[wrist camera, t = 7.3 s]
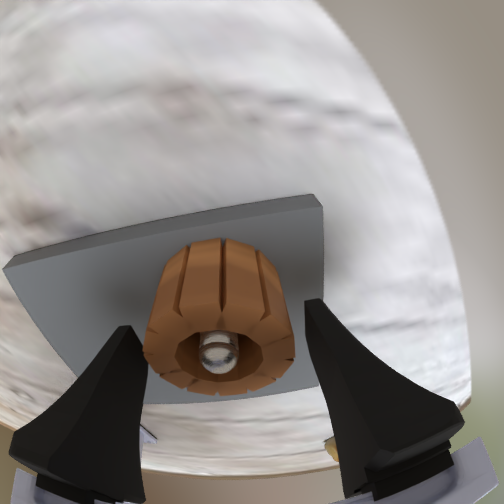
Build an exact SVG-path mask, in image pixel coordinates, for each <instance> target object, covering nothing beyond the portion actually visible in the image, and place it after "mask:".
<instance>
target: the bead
mask: <svg viewBox="0 0 504 504" xmlns="http://www.w3.org/2000/svg"><path fill="white" fill-rule="evenodd" d="M220 329H221V330H226V331H230V332H235V333H238V347H239V359H238V362H237V364H236V366H235V367H234V368H233V369H232V370H230V371H229V372H227V373H223V374H215V373H212V372H210V371H208V370H207V369H205V368H204V367H203V365H202V364H201V362H200V359H199V342H200V332H204V331H212V330H220ZM142 351H143V352H144V355H143V356H144V357H145V359H146V360H147V362H148V363H149V365H150V366H151V368H152V369H153V370H154V372H155V373H156V374H160V376H159V377H160V378H162V379H164V380H166V381H167V382H169V383H171V384H173V385H175V386H177V387H178V388H180V389H184V388H186V387H187V391H189V392H194V393H199V394H205V395H211V396H215V394H216V393H217V391H218V393H219V395H220V396H228V395H238V394H246V393H248V391H247V389H249V390H250V391H252V392H254V391H256V390H258V389H261V388H263V387H265V386H267V385H269V384H272V383H274V382H276V378H281V377H282V376H283V374H284V373H285V372H286V371H287V370H288V368H289V367H290V366H291V365H292V364H293V362H294V359H293V358H296V356H295V338H294V333H293V330H292V326H291V322H290V318H289V314H288V310H287V306H286V302H285V298H284V294H283V290H282V287H281V283H280V279H279V275H278V271H276V267H275V266H274V265H273V264H272V263H271V262H270V261H269V260H268V259H267V258H266V256H265V255H264V254H263V253H262V252H261V251H260V250H259V249H258V250H257V251H256V252H255V249H254V246H251V245H248V244H245V243H241V242H238V241H235V240H232V239H228V238H226V240H225V243H224V245H223V247H222V242H221V238H215V239H209V240H204V241H198V242H192V243H191V248H189V247H188V246H187V245H186V246H185V247H183V248H182V249H181V250H180V251H179V252H177V253H176V254H175V255H174V256H173V257H171V258H170V259H169V260H168V261H167V264H166V265H165V266H164V269H163V272H162V276H161V279H160V282H159V285H158V289H157V292H156V296H155V299H154V303H153V306H152V310H151V313H150V317H149V321H148V325H147V328H146V333H145V339H144V344H143V350H142Z"/></svg>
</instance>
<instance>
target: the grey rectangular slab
mask: <svg viewBox="0 0 504 504" xmlns="http://www.w3.org/2000/svg"><path fill="white" fill-rule="evenodd" d="M215 238H221V242H222V247H223V245H224V243H225V240H226V238H228V239H232V240H235V241H238V242H241V243H245V244H248V245H251V246H254V249H255V252H256V251H257V250H258V249H259V250H260V251H261V252H262V253H263V254H264V255H265V256H266V258H267V259H268V260H269V261H270V262H271V263H272V264H273V265H274V266H275V267H276V271H278V275H279V279H280V283H281V287H282V290H283V294H284V298H285V302H286V306H287V310H288V314H289V318H290V322H291V326H292V330H293V333H294V338H295V356H296V358H293V359H294V362H293V364H292V365H291V366H290V367H289V368H288V370H287V371H286V372H285V373H284V374H283V376H282V377H281V378H276V382H274V383H272V384H269V385H267V386H265V387H263V388H261V389H258V390H256V391H254V392H252V391H250V390H249V389H247V391H248V393H246V394H238V395H228V396H220V395H219V393H218V391H217V393H216V394H215V396H211V395H205V394H199V393H194V392H189V391H187V387H186V388H184V389H180V388H178V387H177V386H175V385H173V384H171V383H169V382H167V381H166V380H164V379H162V378H160V377H159V376H160V374H156V373H155V372H154V370H153V369H152V368H151V366H150V365H149V366H148V378H147V384H146V390H145V396H144V401H143V404H182V403H202V402H216V401H227V400H237V399H246V398H254V397H261V396H268V395H274V394H280V393H286V392H292V391H297V390H302V389H307V388H312V387H317V386H319V380H318V378H317V375H316V372H315V369H314V366H313V364H312V361H311V358H310V354H309V350H308V346H307V341H306V337H305V314H304V301H305V300H310V299H316V298H320V299H322V301H323V289H324V237H323V206H322V205H321V204H320V202H319V201H318V200H317V199H316V197H315V196H314V195H313V194H309V195H302V196H295V197H288V198H281V199H274V200H268V201H262V202H255V203H249V204H243V205H237V206H231V207H225V208H220V209H214V210H209V211H203V212H198V213H192V214H187V215H182V216H177V217H172V218H167V219H162V220H157V221H152V222H148V223H143V224H138V225H134V226H129V227H125V228H120V229H116V230H112V231H107V232H103V233H99V234H95V235H91V236H87V237H83V238H79V239H75V240H71V241H67V242H63V243H59V244H55V245H52V246H48V247H44V248H41V249H37V250H33V251H30V252H26V253H23V254H20V255H16V256H14V257H13V258H12V259H11V260H10V261H9V262H8V263H7V264H6V266H5V267H4V268H3V269H2V270H3V272H4V274H5V276H6V278H7V279H8V281H9V283H10V285H11V286H12V288H13V290H14V292H15V293H16V295H17V297H18V298H19V300H20V301H21V303H22V305H23V306H24V308H25V309H26V311H27V312H28V314H29V315H30V317H31V318H32V320H33V321H34V323H35V324H36V326H37V327H38V328H39V330H40V331H41V333H42V334H43V335H44V337H45V338H46V339H47V341H48V342H49V343H50V345H51V346H52V347H53V348H54V350H55V351H56V352H57V353H58V355H59V356H60V357H61V358H62V360H63V361H64V362H65V363H66V364H67V366H68V367H69V368H70V369H71V370H72V371H73V372H74V374H75V375H76V376H77V377H78V378H79V376H80V375H81V374H82V373H83V371H84V370H85V369H86V368H87V367H88V365H89V364H90V363H91V362H92V360H93V359H94V358H95V356H96V355H97V354H98V352H99V351H100V350H101V348H102V347H103V346H104V344H105V343H106V342H107V340H108V339H109V338H110V336H111V335H112V334H113V333H114V331H115V330H116V329H117V328H118V327H119V326H124V325H131V326H132V328H133V329H134V331H135V333H136V335H137V336H138V338H139V340H140V341H141V343H142V345H143V344H144V339H145V333H146V328H147V325H148V321H149V317H150V313H151V310H152V306H153V303H154V299H155V296H156V292H157V289H158V285H159V282H160V279H161V276H162V272H163V269H164V266H165V265H166V264H167V261H168V260H169V259H170V258H171V257H173V256H174V255H175V254H176V253H177V252H179V251H180V250H181V249H182V248H183V247H185V246H186V245H187V246H188V247H189V248H191V243H192V242H198V241H204V240H209V239H215Z"/></svg>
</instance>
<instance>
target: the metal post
mask: <svg viewBox="0 0 504 504" xmlns="http://www.w3.org/2000/svg"><path fill="white" fill-rule="evenodd" d="M199 359H200V362H201V364H202V365H203V367H204V368H205V369H207V370H208V371H210V372H212V373H215V374H223V373H227V372H229V371H230V370H232V369H233V368H234V367H235V366H236V364H237V362H238V359H239V347H238V333H235V332H230V331H226V330H221V329H220V330H212V331H204V332H200V342H199Z"/></svg>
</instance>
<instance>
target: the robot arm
mask: <svg viewBox="0 0 504 504" xmlns="http://www.w3.org/2000/svg"><path fill="white" fill-rule="evenodd" d="M304 314H305V337H306V341H307V346H308V350H309V354H310V358H311V361H312V364H313V366H314V369H315V372H316V375H317V378H318V380H319V383H320V386H321V389H322V392H323V394H324V397H325V400H326V403H327V407H328V410H329V415H330V419H331V423H332V428H333V433H334V438H335V443H336V448H337V453H338V459H339V464H340V471H341V477H342V484H343V492H344V495H345V500H341V501H338V502H334V503H329V504H474V503H475V502H477V501H478V500H479V499H481V498H482V497H483V496H485V495H486V494H487V493H489V492H490V491H491V490H493V489H494V488H495V487H496V486H498V484H499V482H498V479H497V476H496V473H495V471H494V468H493V465H492V463H491V460H490V458H489V455H488V453H487V450H486V448H485V445H484V443H483V441H482V439H481V437H478V438H476V439H475V440H473V441H471V442H470V443H468V444H467V445H465V446H464V447H462V448H460V449H459V450H457V451H455V452H454V453H452V454H450V452H449V450H448V449H450V448H451V444H450V441H449V439H450V438H451V437H452V436H453V435H454V434H456V433H457V432H458V431H459V430H460V429H461V428H462V427H463V425H464V423H465V421H464V419H463V417H462V415H461V413H460V411H459V409H458V407H457V406H456V404H455V403H454V402H453V401H451V400H448V399H446V398H444V397H441V396H439V395H437V394H435V393H432V392H430V391H428V390H427V389H425V388H423V387H421V386H419V385H417V384H416V383H414V382H412V381H411V380H409V379H408V378H406V377H404V376H403V375H401V374H399V373H398V372H396V371H395V370H394V369H392V368H391V367H389V366H388V365H387V364H385V363H384V362H383V361H382V360H380V359H379V358H378V357H376V356H375V355H374V354H373V353H372V352H371V351H369V350H368V349H367V348H366V347H365V346H364V345H363V344H362V343H361V342H360V341H358V340H357V339H356V338H355V337H354V336H353V335H352V334H351V333H350V332H349V330H348V329H347V328H346V327H345V326H344V325H343V324H342V323H341V322H340V321H339V320H338V319H337V318H336V316H335V315H334V314H333V313H332V312H331V311H330V309H329V308H328V307H327V306H326V304H325V303H324V302H323V301H322V299H320V298H316V299H310V300H305V301H304ZM142 350H143V345H142V343H141V341H140V340H139V338H138V336H137V335H136V333H135V331H134V329H133V328H132V326H131V325H124V326H119V327H118V328H117V329H116V330H115V331H114V333H113V334H112V335H111V336H110V338H109V339H108V340H107V342H106V343H105V344H104V346H103V347H102V348H101V350H100V351H99V352H98V354H97V355H96V356H95V358H94V359H93V360H92V362H91V363H90V364H89V365H88V367H87V368H86V369H85V370H84V371H83V373H82V374H81V375H80V376H79V378H78V379H77V380H76V381H75V382H74V384H73V385H72V386H71V387H70V388H69V389H68V390H67V391H66V392H65V393H64V394H63V395H62V396H61V397H60V398H59V399H58V400H57V401H56V402H55V403H54V404H52V405H51V406H50V407H49V408H48V409H47V410H46V411H44V412H43V413H42V414H41V415H39V416H38V417H37V418H35V419H34V420H32V421H31V422H30V423H28V424H26V425H25V426H23V427H21V428H20V429H18V430H16V431H15V432H14V434H13V438H12V442H11V446H10V449H9V455H10V456H11V457H12V458H14V459H15V460H17V461H18V462H20V463H21V464H23V465H25V466H27V467H28V468H30V469H32V470H33V471H35V472H37V473H38V475H37V477H35V476H33V475H31V474H29V473H27V472H25V471H23V470H21V469H19V468H17V470H16V474H15V480H14V485H13V490H12V497H11V504H143V503H144V502H145V501H146V498H145V493H144V487H143V482H142V475H141V458H142V449H143V443H157V440H156V439H155V438H154V437H153V436H152V435H150V434H149V433H148V432H147V431H146V430H145V429H144V428H142V427H141V426H140V420H141V413H142V407H143V401H144V396H145V390H146V384H147V378H148V366H149V363H148V362H147V360H146V359H145V357H144V356H143V355H144V352H143V351H142ZM361 494H362V495H361ZM358 495H359V496H358ZM354 496H355V497H354ZM351 497H352V498H351ZM348 498H349V499H348Z"/></svg>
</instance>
